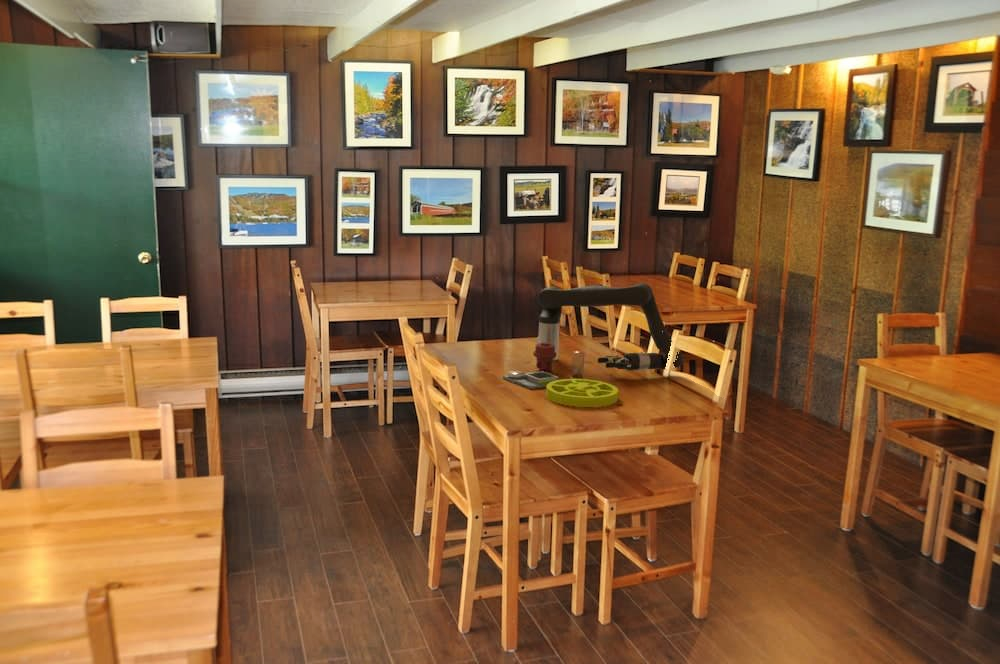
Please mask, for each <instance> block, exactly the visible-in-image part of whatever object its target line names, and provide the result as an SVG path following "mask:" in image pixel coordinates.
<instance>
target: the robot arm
mask: <svg viewBox="0 0 1000 664" xmlns="http://www.w3.org/2000/svg"><path fill="white" fill-rule="evenodd" d="M536 299H537V302H538V304H539V305H540V306H541V307H542V310H541V313H540V315H539V316H538V317H539V320H538V336H537V338H536V344H540V343H541V342H548V343H550V344H553V345H555V352H556V357H555V358H553V362H554V361H557V360H558V357H559V356H558V354H559V339H560V338H559V337H560V336H559V335H560V334H559V333H560V321H561V317H562V311H563V309H562V308H563V307H584V308H585V307H586V308H588V307H589V308H590V307H591V308H592V307H595V308H596V307H598V308H599V307H609V306H615V305H620V306H622V305H623V306H634V307H640V308H641V309H642V311H643V314H644V316H645V318H646V322H647V325H648V330H649V333H650V336H651V338H652V340H653V342H654V345H655V347H656V348H657V349H658V350H659V351H662V353H657V352H627V353H625V355H624V356H620V355H617V354H616V355H605V357H598V358H597V363H598V364H605V368H606V369H613V368H614V369H617V370H626V371H628V372H629V371H632V372H633V371H634V372H635V371H645V370H657V369H658V370H666V369H665V367H666V363H667V358H668V353H669V351H670V346H671V342H673V341H672V338H671V335H670V334H669V332H668V330H667V327H666V326H665V324H664V322H663V321H664V320H663V318H662V317H661V314H660V312H659V308H658V305H657V303H656V300H655V296H654V292H653V289H652V288H651V286H650V285H649V284H647V283H644V282H641V283H638V284H635V285H632V286H625V287H624V286H623V287H613V286H605V285H586V286H579V287H575V288H568V289H560V288H558V286H554V285H553V286H552V285H551V286H549V287H545V288H543V289H542V290H541V291H539V292H538V295H537V297H536ZM662 331H663V332H662ZM669 356H670V355H669ZM677 356H678V358H677ZM676 359H677V360H675V362H673V364H674V366H675V368H674V369H676V368H679V367H681V365H682V364H683V363H684V362H683V360H684V359H683V355H682V353H681V351H680V350H679V354H678V352H677V355H676ZM668 360H669V359H668Z"/></svg>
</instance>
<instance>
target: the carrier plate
mask: <svg viewBox="0 0 1000 664" xmlns="http://www.w3.org/2000/svg"><path fill="white" fill-rule="evenodd" d="M503 378H504V379H503ZM502 379H503V380H505V379H506V380H505V381H508V380H509V381H508V382H510V381H511V382H510V383H513V382H514V383H513V384H515V383H516V385H518V384H519V386H521V387H523V386H524V387H523V388H526V389H528V388H529V390H531V389H534V390H539V389H538V388H540V389H546V388H545V387H546V386H547V384H548V383H550V382H553V381H556V380H559V376H557V375H554V374H552V373H550V372H548V371H545V372H544V371H542V372H539V371H533V370H532V371H527V372H524V371H522V370H521V371H520V370H510V371H508V372H507V374H506V375H505V374H504V375H502Z"/></svg>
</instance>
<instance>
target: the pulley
mask: <svg viewBox="0 0 1000 664" xmlns="http://www.w3.org/2000/svg"><path fill="white" fill-rule="evenodd" d="M545 391H546V392H545V398H546V399H547V398H548V399H547V400H549V401H550V400H551V401H550V402H552V401H553V403H555V402H556V403H555V404H558V403H560V404H559V405H561V404H564V405H563V406H566V405H569V406H568V407H572V406H576V407H575V408H583V407H596V408H602V407H601V406H605V407H607V406H606V405H610V406H612V405H611V404H613V403H615V402H616V401H617V402H618V401H619V400H618V395H619V388H618V387H617V386H615V385H613V384H610V383H607V382H604V381H600V380H594V379H586V378H585V379H570V378H566V379H565V378H564V379H558V380H556V381H553V382H550V383H548V384H547V386H546V388H545ZM617 402H616V403H617ZM616 403H615V404H616ZM613 405H614V404H613Z"/></svg>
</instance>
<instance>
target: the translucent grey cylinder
mask: <svg viewBox="0 0 1000 664" xmlns="http://www.w3.org/2000/svg"><path fill="white" fill-rule="evenodd" d="M585 353H586V352H585V351H583V350H573V351H572V367H571V369H572V370H571V375H570V378H569V379H586V378H585V376H584V371H585V370H584V369H585Z"/></svg>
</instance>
